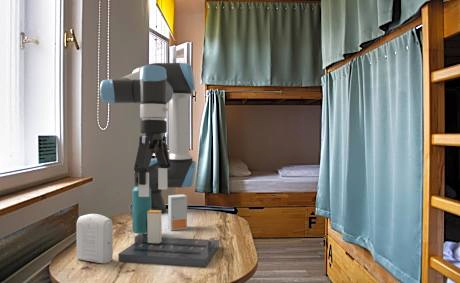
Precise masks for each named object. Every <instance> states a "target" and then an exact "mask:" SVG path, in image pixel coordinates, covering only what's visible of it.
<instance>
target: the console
mask: <svg viewBox="0 0 460 283" xmlns="http://www.w3.org/2000/svg"><path fill="white" fill-rule="evenodd" d="M219 248H220V240H219V239H218V240H217V239H215V237H210V238H209V239H203V238H202V239H201V238H199V239H198V238H183V237H163V236H162V241H161V242H160V243H148V235H147V236H146V235H143V234H138V235H136V236H134V243H132V244H131V245H129V246H128V247H126V248H125V249H124V250H122V251H120V252H119V253H118V254H117V255H118V262H123V263H140V264H150V263H151V264H154V265H168V266H181V267H195V268H207V266H208V264H209V263H210V261H212V258H213V257H214V255H215V254H216V252H217V250H219Z"/></svg>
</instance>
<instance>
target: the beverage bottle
mask: <svg viewBox="0 0 460 283" xmlns="http://www.w3.org/2000/svg"><path fill="white" fill-rule="evenodd" d="M135 183H139V176H137V177H136V178H135V180H134V184H135ZM131 193H132V194H131V195H132V196H131V197H132V202H131V205H132V204H133V208H132V209H133V210H132V213H131V215H132V219H131V220H132V233H134V234H138V235H139V234H148V227H147V211H149V210H151V188H150V187H149V197H139V186H136V187H135V186H134V187H133V189H132V190H131Z"/></svg>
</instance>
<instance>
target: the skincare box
mask: <svg viewBox="0 0 460 283" xmlns="http://www.w3.org/2000/svg"><path fill="white" fill-rule="evenodd" d="M167 197H168V198H167V200H168V201H167V202H168V203H167V206H168V208H167V210H168V212H167V216H168V217H167V218H168V219H167V220H168V221H167V224H168V225H167V228H168V229H169V230H170V231H171V232H172V231H179V230H180V231H181V230H188V196H187V195H186V194H183V193H182V194H170V195H168V196H167Z"/></svg>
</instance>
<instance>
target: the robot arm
mask: <svg viewBox="0 0 460 283" xmlns="http://www.w3.org/2000/svg"><path fill="white" fill-rule="evenodd" d="M195 90H196V85H195V77H194V71H193V68H192V65H191V64H190V63H187V62H186V63H185V62H154V63H149V64H145V65H142V66H139V67H137V68H136V69H134V70H133V71H132V73H130V74H127V75H125V76H122V77H120V78H118V79H113V78H110V79H104V80H102V81H101V82H100V85H99V94H100V99H101V100H102V101H103V103H105V104H114V105H115V104H139V118H140V119H141V121H140V122H139V124H140V126H139V127H140V128H139V129H140V131H139V132H140V133H141V134H145V135H141V136H139V141H138V147H137V148H138V149H137V153H136V157H135V162H134V167H133V174H134V181H135V178H136V177H137V176H139V183H135V182H134V188H135V187H136V186H139V197H149V187H150V188H151V210H162V212H161V214H163V213H165V212H166V210H167V206H166V202H165V200H164V195H163V192H162V191H163V190H168V189H169V188H172V189H173V188H174V189H175V188H178V189H179V188H180V189H186V188H191V187H192V186H193V185H194V181H195V176H196V169H197V166H196V165H197V161H195V160H193V156H192V155H191V154H190V149H189V148H190V144H189V143H190V142H189V139H190V136H189V128H190V127H189V126H190V125H189V98H190V97H191V96H192V91H193V92H194V91H195ZM167 104H168V105H167ZM167 106H168V107H167ZM167 112H168V114H167ZM167 115H168V116H167ZM167 117H168V121H167V120H165V119H167ZM167 124H168V125H167ZM167 129H168V144H167V137H166V136H162V135H163V134H166V133H167ZM154 155H155V158H153V156H154ZM132 208H133V204H132V203H131V205H130V213H131V214H132V210H133V209H132Z"/></svg>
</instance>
